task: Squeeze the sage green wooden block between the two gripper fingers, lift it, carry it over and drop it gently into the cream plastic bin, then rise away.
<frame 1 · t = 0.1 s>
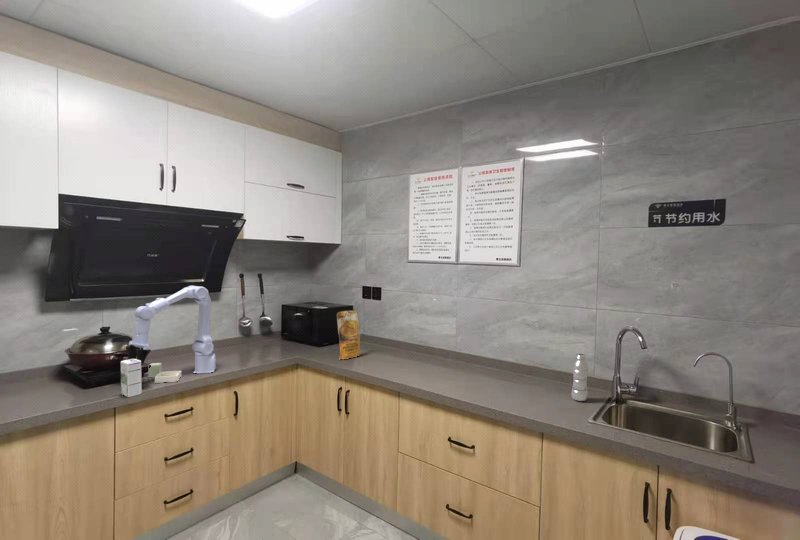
hand: (135, 363, 180), 10 cm above the worktop, tool pointing down, fingers open, 7 cm apart
plastic bottle: (579, 400, 175), on the worktop
bin: (168, 380, 191), on the worktop
pancake mix bag: (348, 357, 241), on the worktop
block: (155, 376, 196), on the worktop
syrup box: (131, 394, 171), on the worktop
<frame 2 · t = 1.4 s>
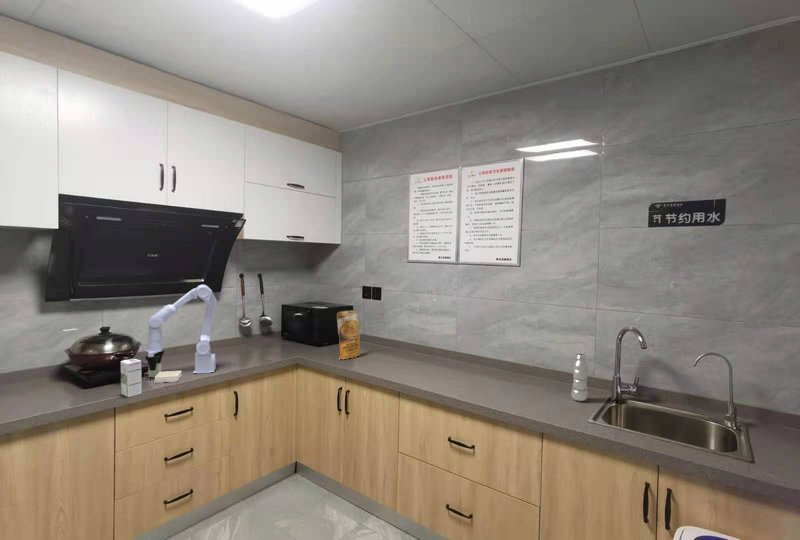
hand: (154, 368, 196), 4 cm above the worktop, tool pointing down, fingers open, 7 cm apart
nothing on the worktop moved.
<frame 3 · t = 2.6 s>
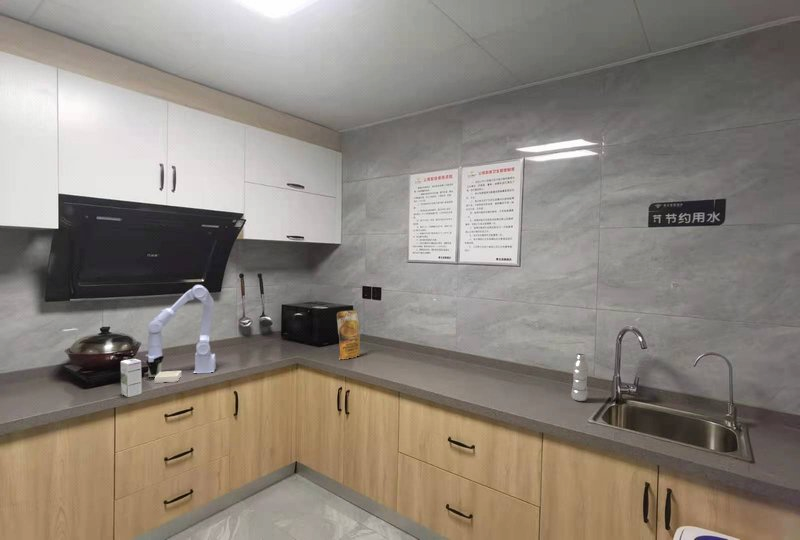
hand: (155, 373, 196), 2 cm above the worktop, tool pointing down, fingers closed on block, 4 cm apart
block: (155, 376, 196), on the worktop, touching gripper
everything else where it was.
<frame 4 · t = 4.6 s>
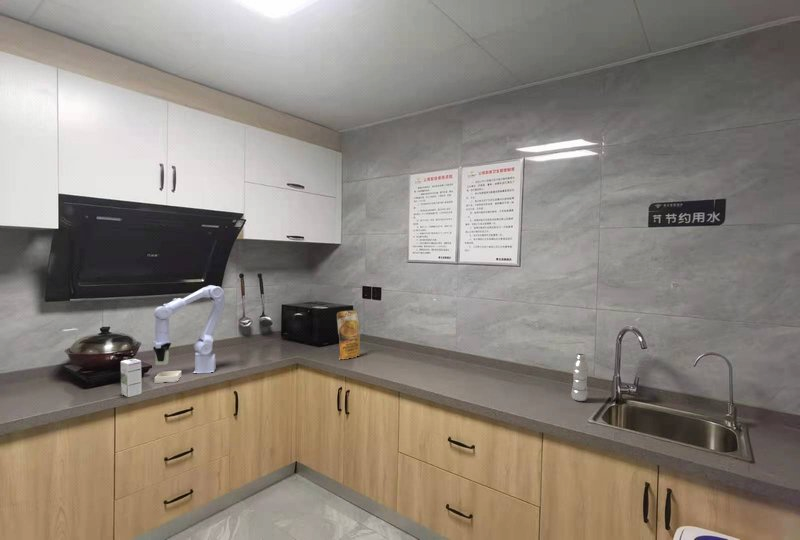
hand: (162, 360, 193), 9 cm above the worktop, tool pointing down, fingers closed on block, 4 cm apart
block: (162, 363, 193), point 7 cm above the worktop, touching gripper
everything else where it was.
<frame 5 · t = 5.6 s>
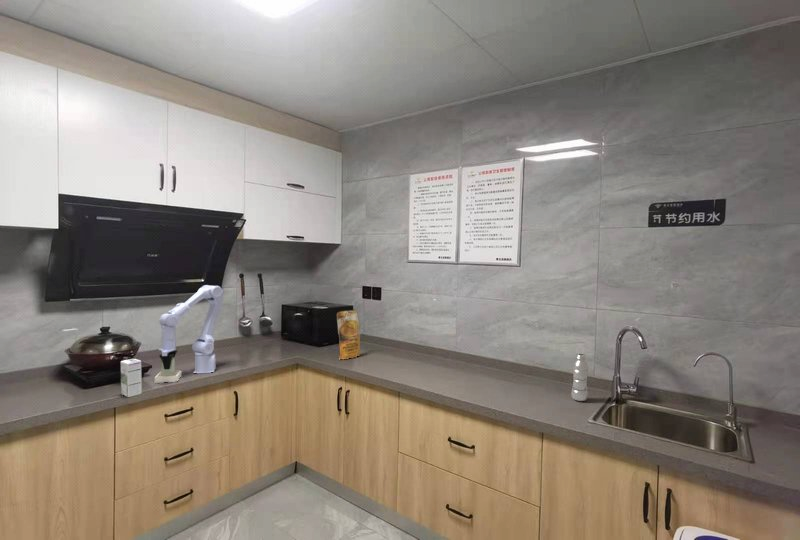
hand: (168, 367, 191), 6 cm above the worktop, tool pointing down, fingers closed on block, 4 cm apart
block: (168, 371, 191), point 4 cm above the worktop, touching gripper
everything else where it was.
when the fingers open (4 cm above the worktop, at t = 6.4 s): block drops 1 cm, resting on bin.
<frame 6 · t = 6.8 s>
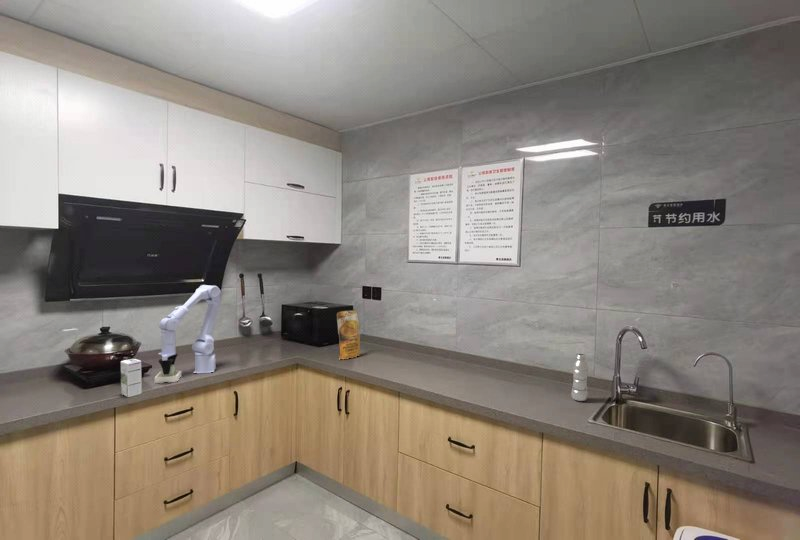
hand: (168, 371, 191), 4 cm above the worktop, tool pointing down, fingers open, 7 cm apart
block: (168, 378, 191), point 1 cm above the worktop, touching bin
everything else where it was.
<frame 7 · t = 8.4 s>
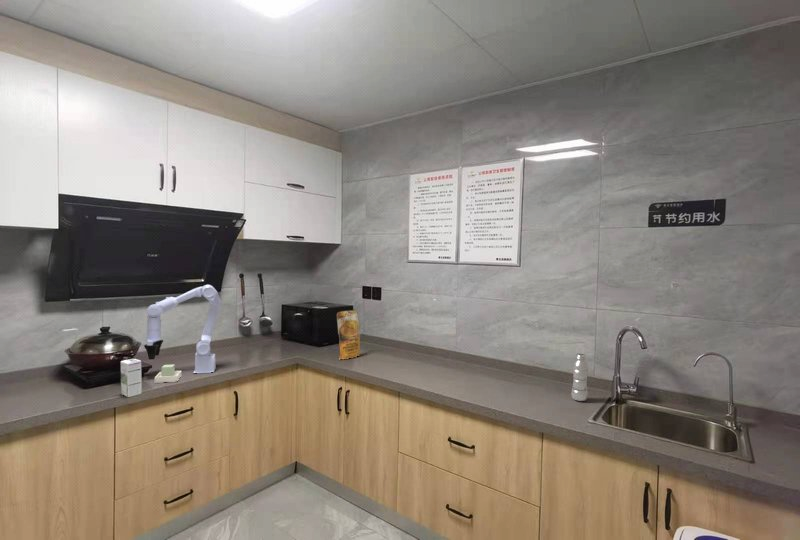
hand: (153, 357, 196), 9 cm above the worktop, tool pointing down, fingers open, 7 cm apart
nothing on the worktop moved.
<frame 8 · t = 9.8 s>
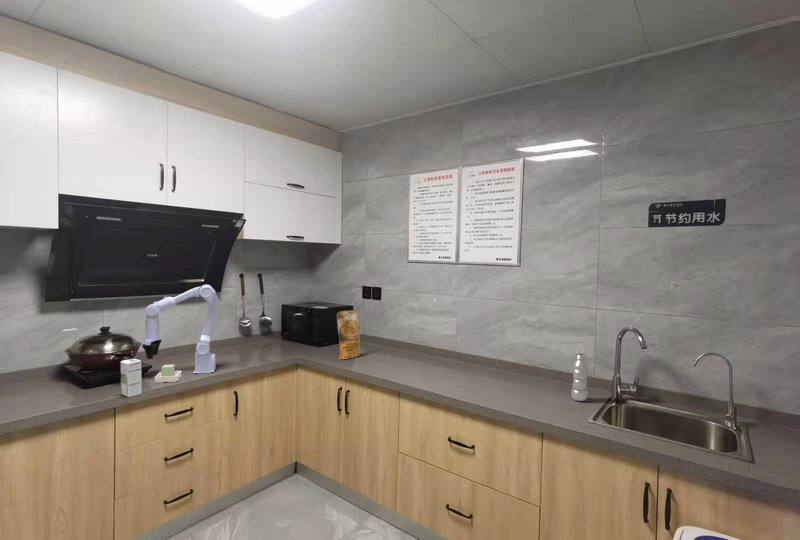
hand: (152, 356, 197), 9 cm above the worktop, tool pointing down, fingers open, 7 cm apart
nothing on the worktop moved.
at the end: block 0.1 cm off-centre on the bin, point 0.8 cm above the bin's base; block tilted 0°; the gripper is holding nothing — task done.
